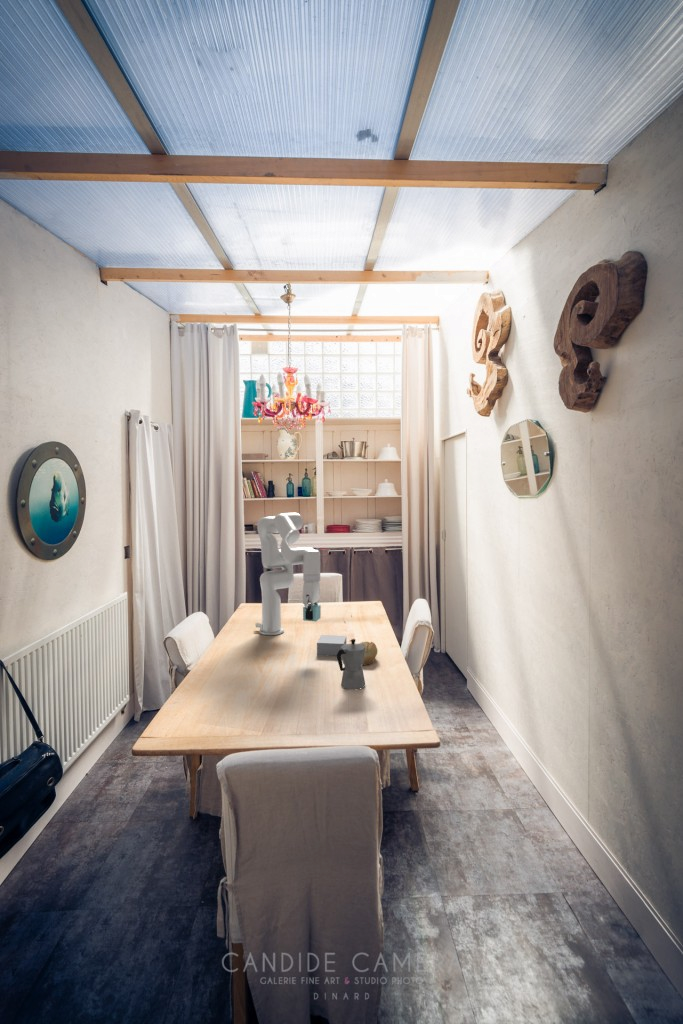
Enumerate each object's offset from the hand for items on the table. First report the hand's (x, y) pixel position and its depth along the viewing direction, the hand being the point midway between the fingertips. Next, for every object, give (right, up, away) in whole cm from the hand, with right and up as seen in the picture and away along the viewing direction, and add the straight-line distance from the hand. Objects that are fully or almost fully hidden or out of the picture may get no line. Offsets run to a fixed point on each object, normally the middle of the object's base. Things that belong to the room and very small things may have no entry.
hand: (311, 617), depth 237 cm
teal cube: (0, -1, 0) cm, 1 cm away
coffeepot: (+17, -20, -34) cm, 43 cm away
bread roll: (+24, -18, -5) cm, 30 cm away
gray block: (+9, -17, +7) cm, 21 cm away
